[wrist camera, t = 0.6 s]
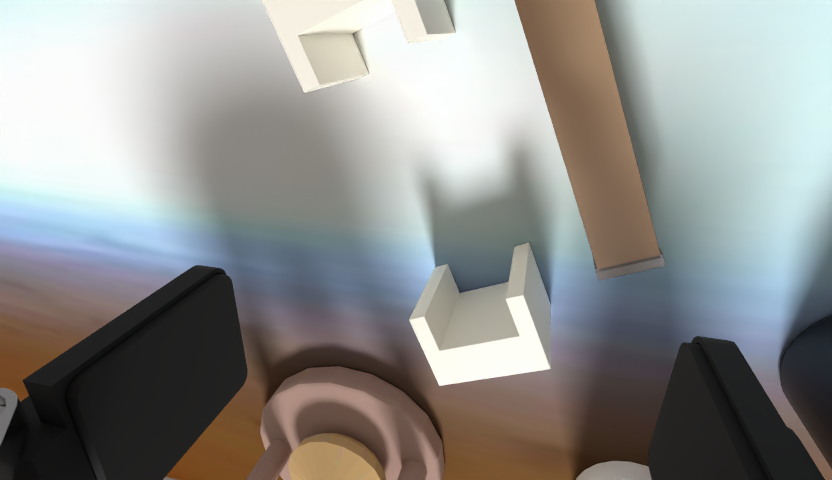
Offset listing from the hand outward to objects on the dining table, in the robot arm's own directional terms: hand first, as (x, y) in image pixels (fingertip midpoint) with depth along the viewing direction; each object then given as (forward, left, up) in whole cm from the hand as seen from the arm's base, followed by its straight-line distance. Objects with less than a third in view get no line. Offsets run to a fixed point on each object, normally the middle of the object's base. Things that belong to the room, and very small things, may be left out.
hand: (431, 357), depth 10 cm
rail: (-4, 0, -22) cm, 22 cm away
